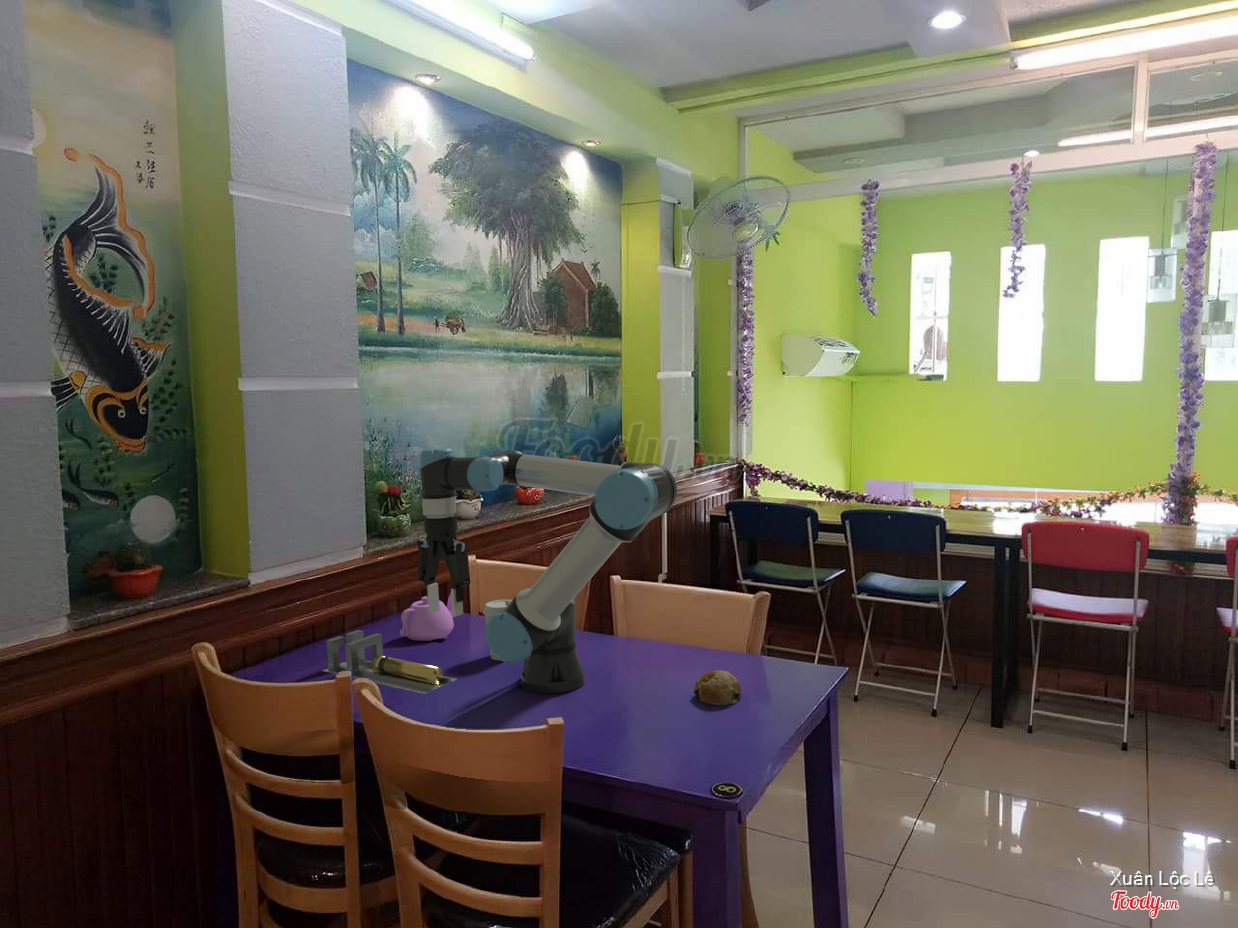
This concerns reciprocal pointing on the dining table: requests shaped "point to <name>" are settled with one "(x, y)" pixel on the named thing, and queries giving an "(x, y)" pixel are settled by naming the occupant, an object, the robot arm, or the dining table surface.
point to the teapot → (427, 621)
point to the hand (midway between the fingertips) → (446, 613)
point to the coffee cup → (491, 610)
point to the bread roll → (717, 688)
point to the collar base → (371, 662)
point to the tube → (408, 669)
